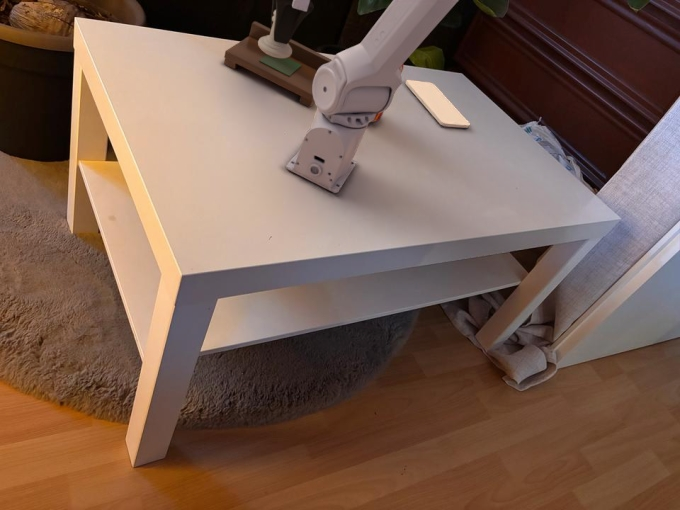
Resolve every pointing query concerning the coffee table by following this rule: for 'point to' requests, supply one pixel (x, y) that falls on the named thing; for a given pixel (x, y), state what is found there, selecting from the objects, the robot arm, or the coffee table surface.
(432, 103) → the smartphone
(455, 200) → the coffee table surface
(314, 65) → the shelf
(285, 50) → the chess piece
